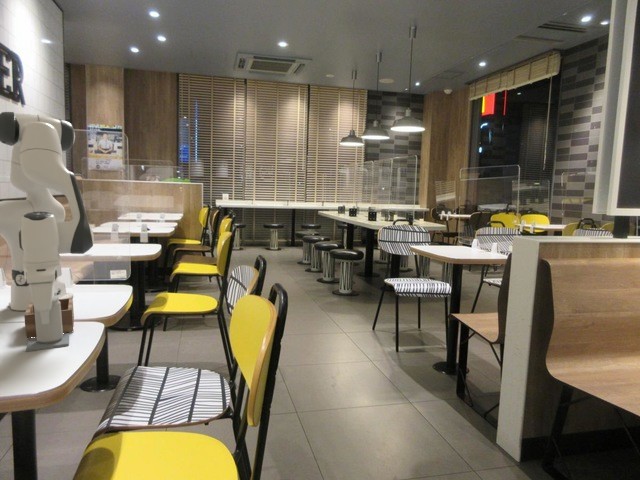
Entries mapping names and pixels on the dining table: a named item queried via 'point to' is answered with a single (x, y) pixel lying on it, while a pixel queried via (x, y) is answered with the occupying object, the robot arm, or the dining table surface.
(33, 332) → the box
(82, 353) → the dining table surface
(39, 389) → the dining table surface
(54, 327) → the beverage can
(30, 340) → the mat
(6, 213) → the robot arm
